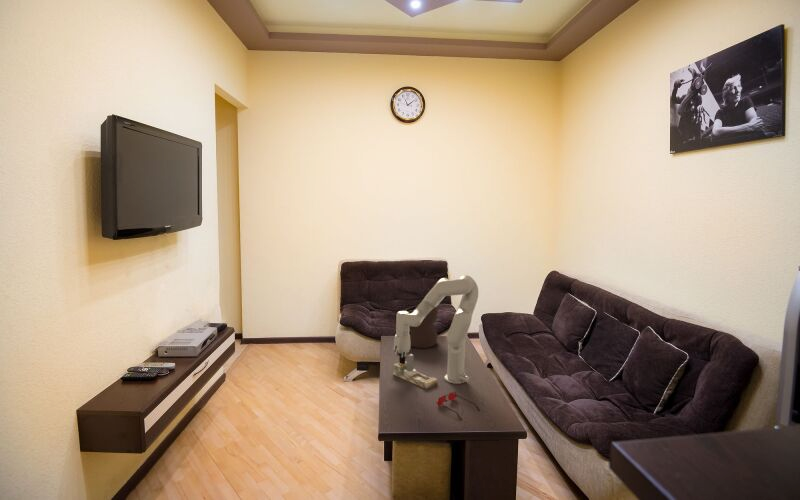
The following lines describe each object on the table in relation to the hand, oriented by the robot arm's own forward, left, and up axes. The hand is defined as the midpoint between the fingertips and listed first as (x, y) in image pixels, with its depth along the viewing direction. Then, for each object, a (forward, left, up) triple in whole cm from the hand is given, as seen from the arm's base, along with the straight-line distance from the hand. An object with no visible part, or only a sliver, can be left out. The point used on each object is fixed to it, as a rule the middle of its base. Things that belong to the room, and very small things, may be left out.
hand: (402, 363), depth 237 cm
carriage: (-6, 0, -5) cm, 8 cm away
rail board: (-10, 0, -6) cm, 12 cm away
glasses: (-48, +9, -7) cm, 49 cm away
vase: (+32, -47, -7) cm, 57 cm away
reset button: (0, 0, -3) cm, 3 cm away
